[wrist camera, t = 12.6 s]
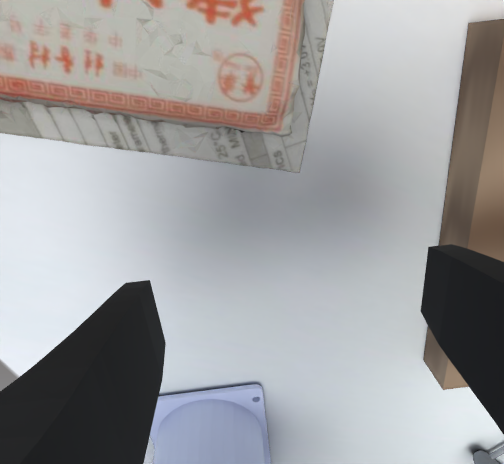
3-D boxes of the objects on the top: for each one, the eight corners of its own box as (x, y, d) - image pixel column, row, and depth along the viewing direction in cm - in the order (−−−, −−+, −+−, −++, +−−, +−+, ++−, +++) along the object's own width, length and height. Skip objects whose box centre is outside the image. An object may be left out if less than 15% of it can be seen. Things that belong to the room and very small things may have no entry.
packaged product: (-191, 136, 13) (-329, -288, 9) (-86, 116, 17) (-147, -175, 13) (316, 198, 15) (390, -119, 11) (296, 166, 20) (343, -70, 16)
